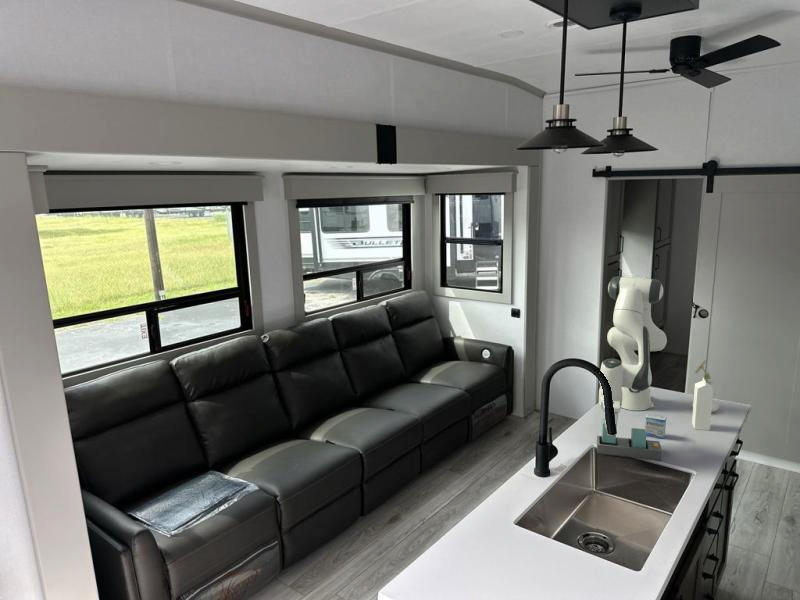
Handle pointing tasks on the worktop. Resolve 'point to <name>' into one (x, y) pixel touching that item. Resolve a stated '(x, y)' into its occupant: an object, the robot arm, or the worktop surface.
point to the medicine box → (655, 426)
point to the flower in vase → (707, 376)
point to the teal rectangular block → (605, 437)
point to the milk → (702, 405)
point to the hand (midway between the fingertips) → (608, 431)
